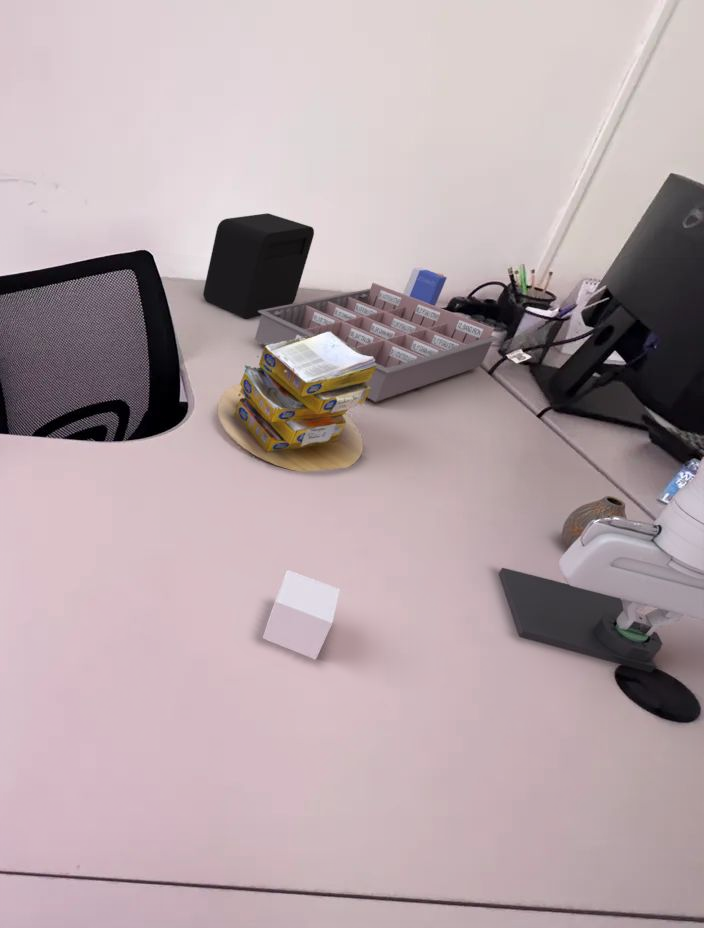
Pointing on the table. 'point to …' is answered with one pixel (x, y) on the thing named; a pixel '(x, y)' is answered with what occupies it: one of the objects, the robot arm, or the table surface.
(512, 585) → the scale
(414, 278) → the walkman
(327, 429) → the stacked yellow boxes
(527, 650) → the table surface
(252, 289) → the air purifier
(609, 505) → the vase
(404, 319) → the organizer tray
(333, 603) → the white cube
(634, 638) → the button
